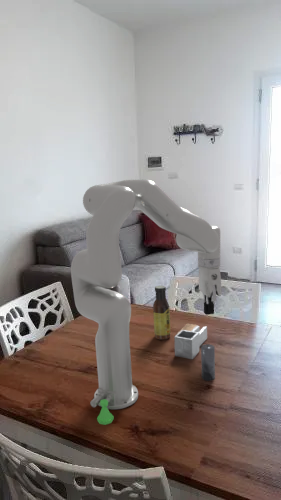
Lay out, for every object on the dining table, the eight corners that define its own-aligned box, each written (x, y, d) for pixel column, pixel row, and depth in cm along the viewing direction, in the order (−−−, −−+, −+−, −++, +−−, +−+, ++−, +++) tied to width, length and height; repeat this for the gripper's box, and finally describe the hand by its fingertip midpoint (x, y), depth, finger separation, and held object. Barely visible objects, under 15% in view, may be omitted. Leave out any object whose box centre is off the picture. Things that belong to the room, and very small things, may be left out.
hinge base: (192, 359, 135) (191, 339, 134) (167, 354, 140) (166, 335, 139) (210, 338, 151) (210, 320, 149) (187, 334, 155) (187, 317, 154)
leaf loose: (198, 347, 143) (198, 335, 142) (195, 346, 144) (195, 335, 143) (207, 338, 151) (206, 326, 150) (204, 337, 151) (203, 326, 150)
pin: (212, 381, 121) (211, 351, 119) (199, 379, 123) (199, 348, 121) (216, 375, 124) (216, 345, 122) (204, 372, 126) (203, 343, 124)
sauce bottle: (171, 340, 151) (169, 289, 147) (154, 340, 151) (152, 290, 147) (170, 333, 157) (168, 284, 153) (154, 333, 158) (152, 284, 153)
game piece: (117, 418, 106) (115, 398, 105) (105, 427, 103) (103, 405, 102) (105, 412, 109) (104, 392, 107) (93, 420, 106) (92, 400, 104)
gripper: (228, 266, 131) (227, 320, 134) (211, 257, 145) (211, 305, 148) (206, 268, 129) (206, 322, 133) (191, 258, 143) (191, 307, 147)
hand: (208, 313), depth 141 cm, fingers closed
